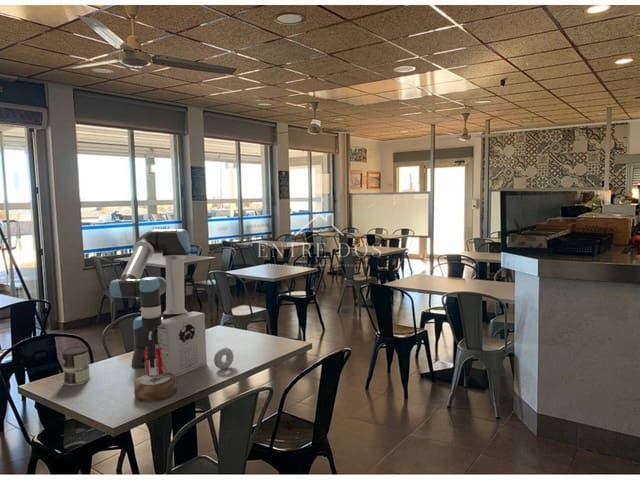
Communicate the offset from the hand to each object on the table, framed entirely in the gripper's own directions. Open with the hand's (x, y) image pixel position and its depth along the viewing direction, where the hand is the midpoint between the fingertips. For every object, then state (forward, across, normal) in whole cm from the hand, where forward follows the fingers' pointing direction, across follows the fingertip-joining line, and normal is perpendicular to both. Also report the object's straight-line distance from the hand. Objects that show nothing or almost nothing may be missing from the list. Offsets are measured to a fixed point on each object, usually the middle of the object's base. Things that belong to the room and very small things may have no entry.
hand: (154, 371), depth 196 cm
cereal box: (+10, -25, +9) cm, 28 cm away
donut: (+10, -22, +28) cm, 37 cm away
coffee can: (+10, -23, -36) cm, 44 cm away
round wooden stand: (+9, 0, 0) cm, 9 cm away
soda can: (+2, 0, 0) cm, 2 cm away
